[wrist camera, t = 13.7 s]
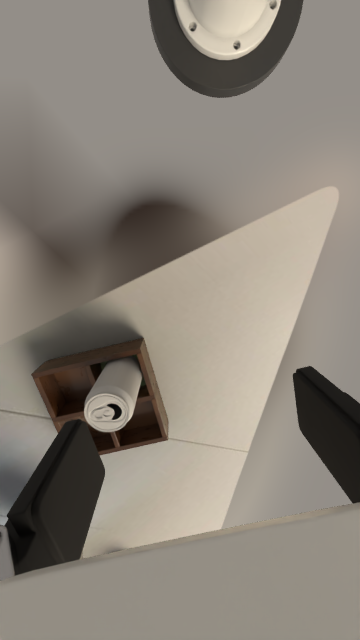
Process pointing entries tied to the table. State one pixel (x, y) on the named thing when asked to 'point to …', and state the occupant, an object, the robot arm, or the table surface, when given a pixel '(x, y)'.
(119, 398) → the beverage can
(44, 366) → the tray
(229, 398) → the table surface
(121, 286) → the table surface
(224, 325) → the table surface
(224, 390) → the table surface
